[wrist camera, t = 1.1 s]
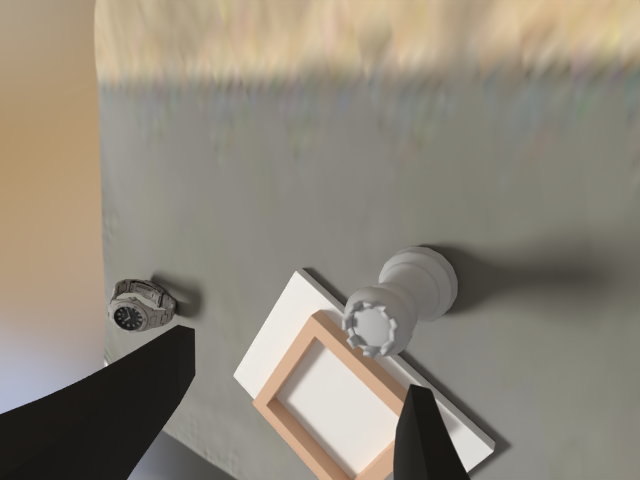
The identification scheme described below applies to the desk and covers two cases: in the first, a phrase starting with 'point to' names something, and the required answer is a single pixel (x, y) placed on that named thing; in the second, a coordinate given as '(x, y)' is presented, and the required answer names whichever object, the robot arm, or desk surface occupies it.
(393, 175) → the desk surface
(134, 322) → the wristwatch
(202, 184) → the desk surface
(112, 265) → the desk surface
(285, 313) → the socket holder
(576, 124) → the desk surface
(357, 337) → the rook chess piece
